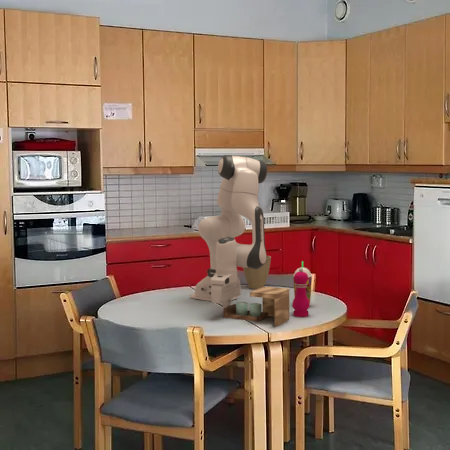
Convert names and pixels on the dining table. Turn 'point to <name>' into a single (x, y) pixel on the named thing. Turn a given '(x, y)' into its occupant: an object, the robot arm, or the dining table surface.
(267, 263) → the plant pot
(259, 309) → the pale green rounded cylinder
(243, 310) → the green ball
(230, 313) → the tray
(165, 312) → the dining table surface
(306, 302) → the pepper mill
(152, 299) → the dining table surface
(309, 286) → the smoothie
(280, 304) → the counter cubby
